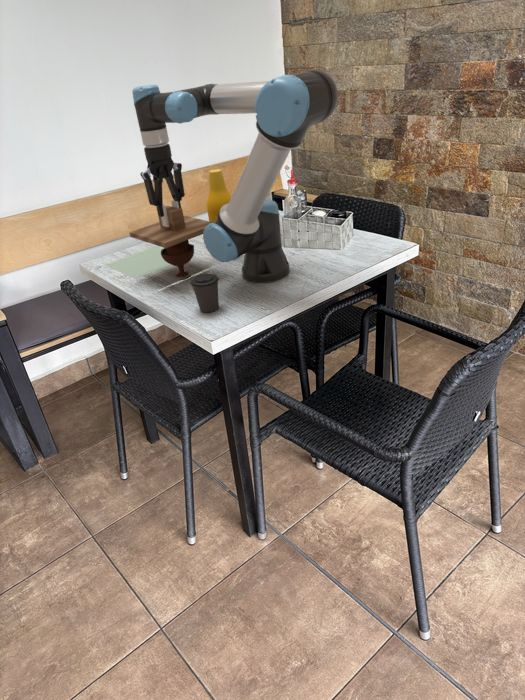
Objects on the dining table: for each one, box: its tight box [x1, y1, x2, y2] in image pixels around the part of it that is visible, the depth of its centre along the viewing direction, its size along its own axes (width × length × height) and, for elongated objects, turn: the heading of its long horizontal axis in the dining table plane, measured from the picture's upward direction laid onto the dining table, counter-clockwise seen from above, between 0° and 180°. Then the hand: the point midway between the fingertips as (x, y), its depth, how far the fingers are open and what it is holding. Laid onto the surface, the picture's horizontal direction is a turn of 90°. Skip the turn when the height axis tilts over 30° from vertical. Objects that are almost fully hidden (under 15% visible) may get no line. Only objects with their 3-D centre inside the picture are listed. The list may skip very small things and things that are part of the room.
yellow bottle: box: [206, 168, 232, 222], centre depth 179 cm, size 9×9×29 cm
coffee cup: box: [189, 273, 220, 315], centre depth 148 cm, size 8×8×10 cm
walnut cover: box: [129, 205, 214, 249], centre depth 164 cm, size 20×20×8 cm
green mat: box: [104, 245, 172, 280], centre depth 188 cm, size 22×22×1 cm
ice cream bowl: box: [161, 240, 195, 281], centre depth 170 cm, size 11×11×15 cm
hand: (172, 223), depth 164 cm, fingers closed on walnut cover, 4 cm apart
